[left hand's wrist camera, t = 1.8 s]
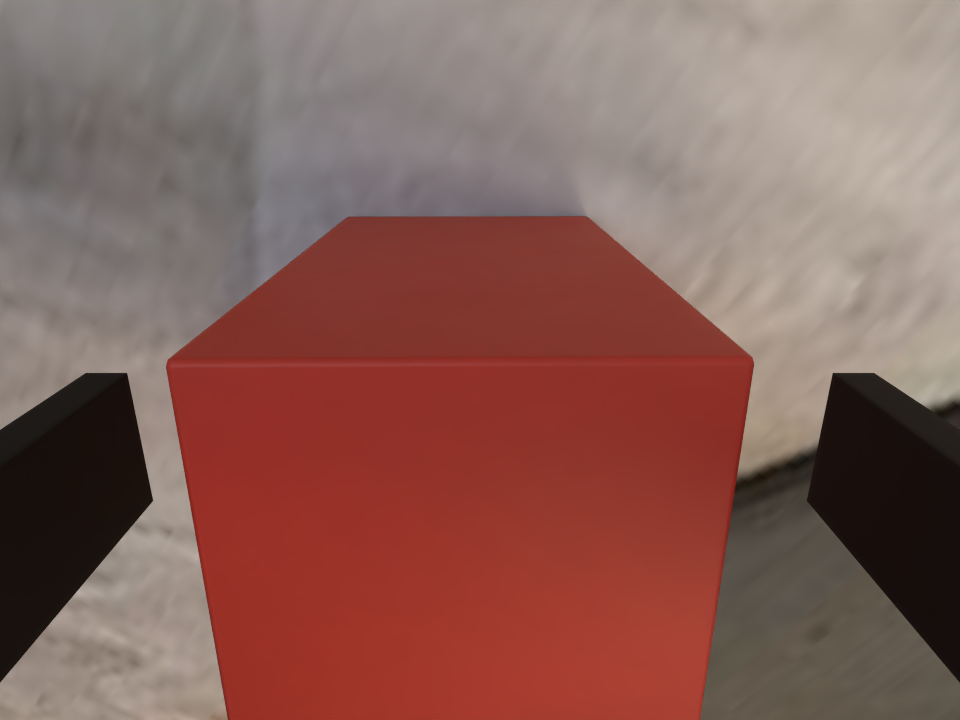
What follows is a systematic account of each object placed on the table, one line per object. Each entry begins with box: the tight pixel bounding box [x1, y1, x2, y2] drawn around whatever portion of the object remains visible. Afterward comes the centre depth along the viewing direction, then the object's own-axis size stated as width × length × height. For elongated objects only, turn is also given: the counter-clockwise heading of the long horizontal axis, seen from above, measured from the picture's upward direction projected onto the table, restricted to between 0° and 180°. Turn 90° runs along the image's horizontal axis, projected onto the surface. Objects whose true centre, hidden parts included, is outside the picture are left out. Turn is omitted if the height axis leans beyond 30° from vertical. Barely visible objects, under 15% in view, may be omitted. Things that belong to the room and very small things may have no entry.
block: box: [166, 216, 754, 720], centre depth 14 cm, size 6×7×11 cm
